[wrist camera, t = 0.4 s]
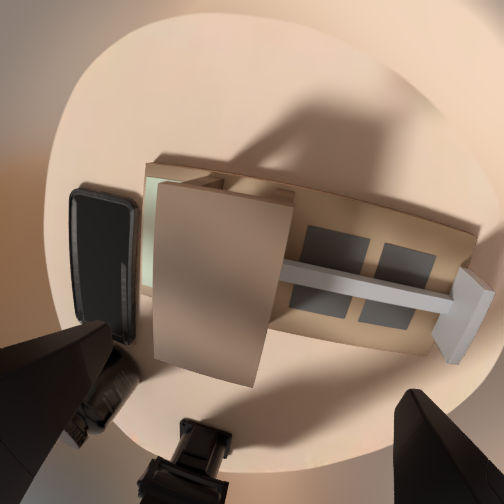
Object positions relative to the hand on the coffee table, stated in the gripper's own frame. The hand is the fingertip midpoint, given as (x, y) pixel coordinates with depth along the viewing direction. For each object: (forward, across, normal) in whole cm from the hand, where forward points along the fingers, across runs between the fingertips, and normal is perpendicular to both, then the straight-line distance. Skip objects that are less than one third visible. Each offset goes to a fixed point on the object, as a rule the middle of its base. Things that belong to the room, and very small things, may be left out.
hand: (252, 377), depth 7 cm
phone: (+15, +16, +7) cm, 23 cm away
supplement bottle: (+15, +16, +19) cm, 29 cm away
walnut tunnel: (+13, +3, +2) cm, 14 cm away
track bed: (+14, -2, +2) cm, 15 cm away
